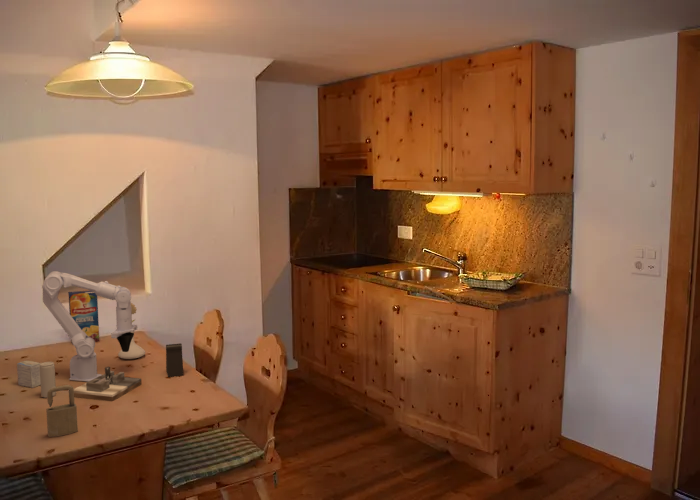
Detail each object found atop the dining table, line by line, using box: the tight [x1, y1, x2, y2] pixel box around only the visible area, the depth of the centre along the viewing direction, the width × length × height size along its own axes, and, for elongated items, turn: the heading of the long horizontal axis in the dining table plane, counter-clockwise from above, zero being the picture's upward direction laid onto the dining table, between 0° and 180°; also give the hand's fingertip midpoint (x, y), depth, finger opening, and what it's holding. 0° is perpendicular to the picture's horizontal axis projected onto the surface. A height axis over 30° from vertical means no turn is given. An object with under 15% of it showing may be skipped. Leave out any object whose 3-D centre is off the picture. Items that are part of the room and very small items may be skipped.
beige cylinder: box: [40, 361, 57, 399], centre depth 218 cm, size 5×5×12 cm
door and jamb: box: [73, 370, 142, 402], centre depth 224 cm, size 18×17×5 cm
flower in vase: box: [117, 302, 146, 360], centre depth 264 cm, size 13×11×25 cm
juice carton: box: [67, 289, 100, 346], centre depth 289 cm, size 12×8×24 cm, turn 120°
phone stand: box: [165, 343, 184, 378], centre depth 243 cm, size 9×6×12 cm, turn 21°
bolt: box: [95, 366, 112, 384], centre depth 221 cm, size 8×2×6 cm, turn 166°
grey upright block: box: [16, 360, 42, 389], centre depth 229 cm, size 8×4×9 cm, turn 65°
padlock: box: [46, 384, 79, 438], centre depth 186 cm, size 4×8×15 cm, turn 123°
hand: (125, 351), depth 241 cm, fingers closed
